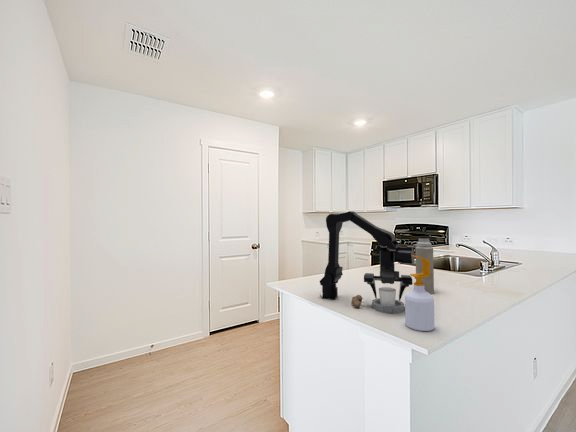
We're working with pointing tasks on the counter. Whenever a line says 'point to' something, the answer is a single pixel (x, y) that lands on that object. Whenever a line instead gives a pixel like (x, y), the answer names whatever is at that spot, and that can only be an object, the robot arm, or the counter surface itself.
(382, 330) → the counter surface
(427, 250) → the thermos bottle
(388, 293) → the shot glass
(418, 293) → the soap bottle
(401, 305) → the tray
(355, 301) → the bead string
